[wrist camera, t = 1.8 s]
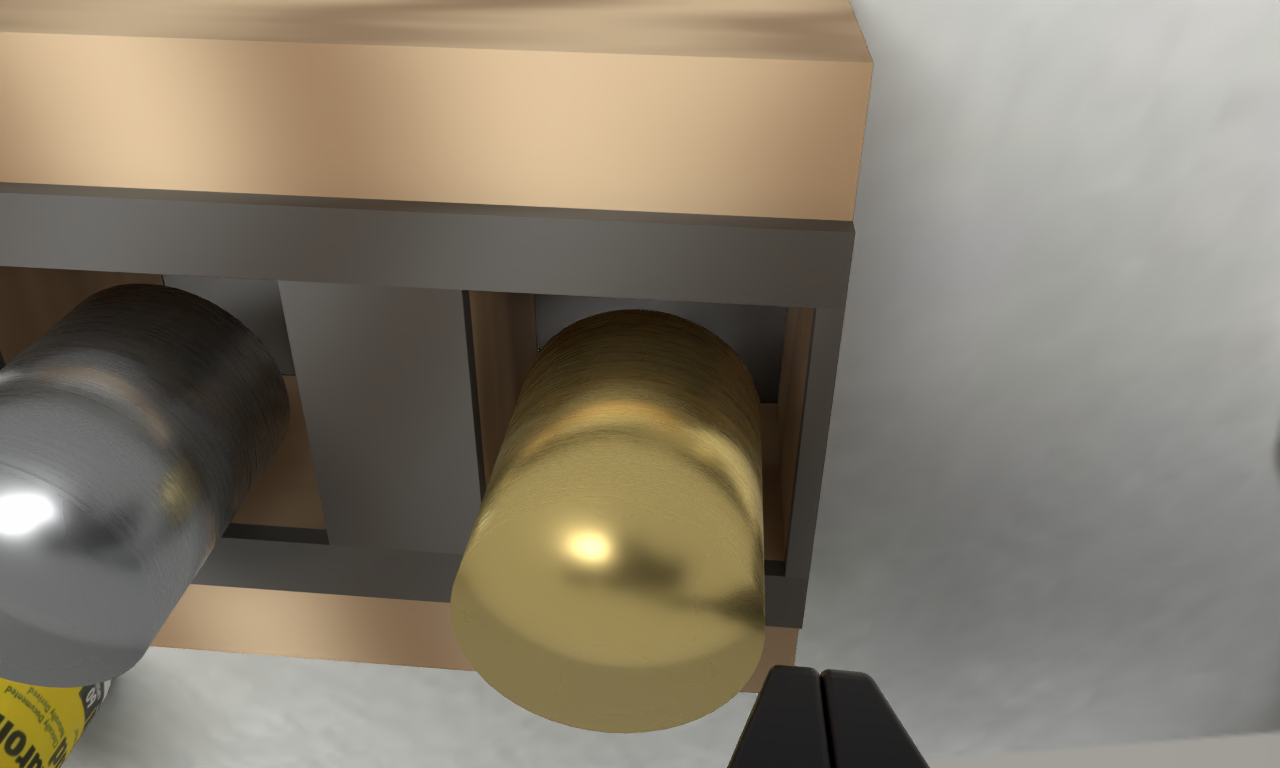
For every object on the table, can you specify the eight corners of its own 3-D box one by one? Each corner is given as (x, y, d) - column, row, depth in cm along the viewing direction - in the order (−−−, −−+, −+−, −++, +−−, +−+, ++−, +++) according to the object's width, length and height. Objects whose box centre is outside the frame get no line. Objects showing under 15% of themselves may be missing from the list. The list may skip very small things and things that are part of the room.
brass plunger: (770, 315, 16) (778, 515, 12) (751, 517, 18) (753, 743, 14) (514, 303, 16) (436, 493, 12) (526, 502, 18) (463, 720, 14)
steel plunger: (267, 289, 16) (108, 471, 12) (307, 488, 18) (183, 698, 14) (27, 276, 17) (-204, 450, 13) (94, 474, 19) (-85, 676, 15)
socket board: (842, -16, 17) (876, 70, 13) (782, 526, 24) (790, 711, 19) (57, -40, 18) (-170, 33, 14) (202, 488, 25) (79, 656, 20)
